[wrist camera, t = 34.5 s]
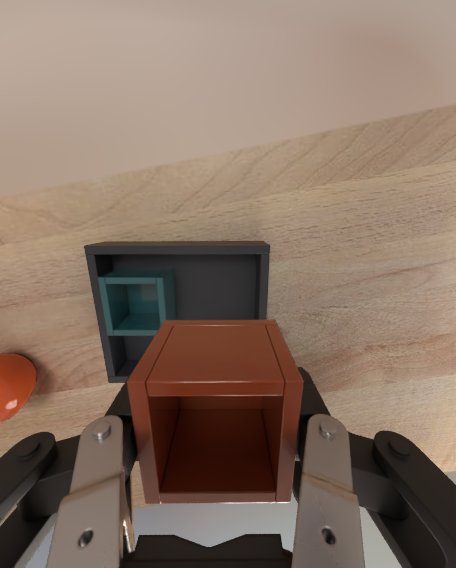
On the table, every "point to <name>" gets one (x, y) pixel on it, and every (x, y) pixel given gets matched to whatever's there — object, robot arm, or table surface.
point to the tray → (184, 286)
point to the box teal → (138, 300)
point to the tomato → (15, 383)
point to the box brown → (216, 413)
